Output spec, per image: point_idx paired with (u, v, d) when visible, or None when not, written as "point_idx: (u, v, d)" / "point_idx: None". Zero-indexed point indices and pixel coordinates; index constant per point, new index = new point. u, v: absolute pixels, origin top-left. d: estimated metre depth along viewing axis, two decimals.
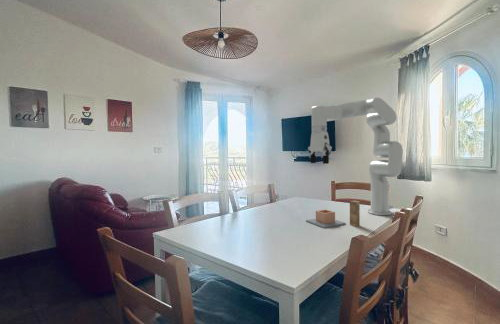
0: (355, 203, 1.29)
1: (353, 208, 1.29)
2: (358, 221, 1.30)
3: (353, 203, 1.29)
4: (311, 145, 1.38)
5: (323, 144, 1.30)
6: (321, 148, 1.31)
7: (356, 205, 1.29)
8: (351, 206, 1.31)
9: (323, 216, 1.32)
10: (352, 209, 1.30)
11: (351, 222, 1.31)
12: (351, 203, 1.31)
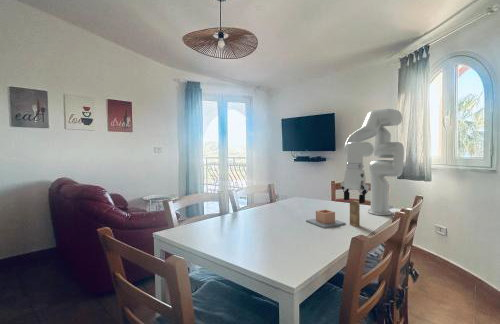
0: (355, 203, 1.29)
1: (353, 208, 1.29)
2: (358, 221, 1.30)
3: (353, 203, 1.29)
4: (345, 182, 1.32)
5: (360, 183, 1.25)
6: (357, 187, 1.26)
7: (356, 205, 1.29)
8: (351, 206, 1.31)
9: (323, 216, 1.32)
10: (352, 209, 1.30)
11: (351, 222, 1.31)
12: (351, 203, 1.31)
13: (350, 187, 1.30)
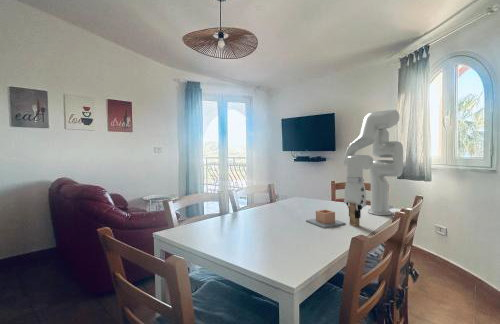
0: None
1: (353, 208, 1.29)
2: (358, 221, 1.30)
3: (353, 203, 1.29)
4: (345, 195, 1.33)
5: (360, 197, 1.26)
6: (358, 201, 1.26)
7: None
8: (351, 206, 1.31)
9: (323, 216, 1.32)
10: (352, 209, 1.30)
11: (351, 222, 1.31)
12: (351, 203, 1.31)
13: (350, 201, 1.30)
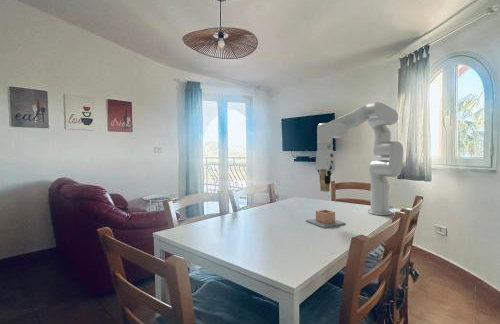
0: None
1: (323, 174, 1.34)
2: (328, 187, 1.34)
3: (323, 169, 1.34)
4: (317, 162, 1.37)
5: (329, 162, 1.30)
6: (327, 166, 1.30)
7: None
8: (321, 172, 1.35)
9: (323, 216, 1.32)
10: (322, 175, 1.34)
11: (321, 188, 1.35)
12: (321, 169, 1.35)
13: (321, 167, 1.34)
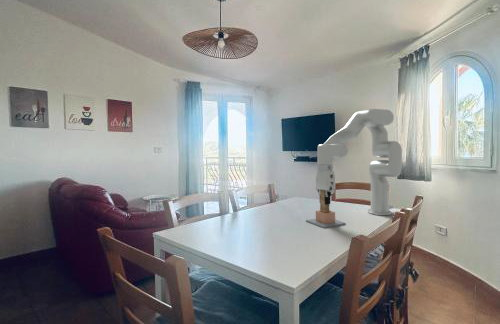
0: None
1: (323, 194, 1.34)
2: (328, 207, 1.35)
3: (323, 190, 1.34)
4: (317, 182, 1.38)
5: (329, 183, 1.30)
6: (327, 187, 1.31)
7: None
8: (321, 193, 1.35)
9: (323, 216, 1.32)
10: (322, 196, 1.34)
11: (321, 208, 1.35)
12: (321, 190, 1.35)
13: (321, 187, 1.35)
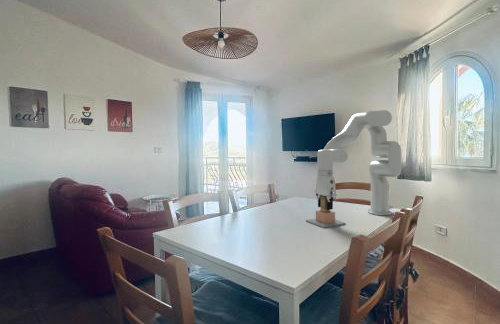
0: (325, 198, 1.34)
1: (323, 203, 1.34)
2: None
3: (323, 198, 1.34)
4: (317, 188, 1.38)
5: (329, 189, 1.30)
6: (327, 193, 1.31)
7: (326, 200, 1.34)
8: (321, 201, 1.35)
9: (323, 216, 1.32)
10: (323, 204, 1.35)
11: None
12: (321, 198, 1.35)
13: (321, 193, 1.35)
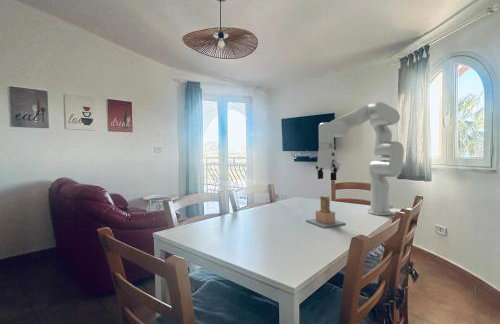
0: (325, 198, 1.34)
1: (323, 203, 1.34)
2: None
3: (323, 198, 1.34)
4: (318, 161, 1.38)
5: (331, 161, 1.31)
6: (329, 165, 1.32)
7: (326, 200, 1.34)
8: (322, 201, 1.35)
9: (323, 216, 1.32)
10: (323, 204, 1.35)
11: None
12: (322, 198, 1.35)
13: (323, 166, 1.36)
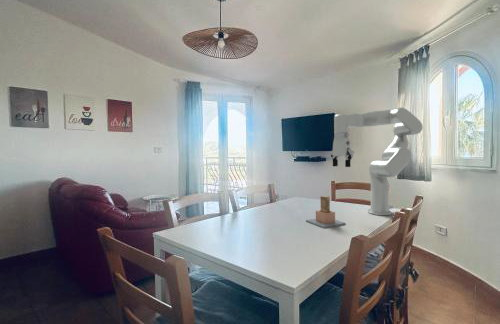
0: (325, 198, 1.34)
1: (323, 203, 1.34)
2: None
3: (323, 198, 1.34)
4: (333, 150, 1.51)
5: (345, 149, 1.44)
6: (344, 153, 1.44)
7: (326, 200, 1.34)
8: (322, 201, 1.35)
9: (323, 216, 1.32)
10: (323, 204, 1.35)
11: None
12: (322, 198, 1.35)
13: (338, 154, 1.48)
